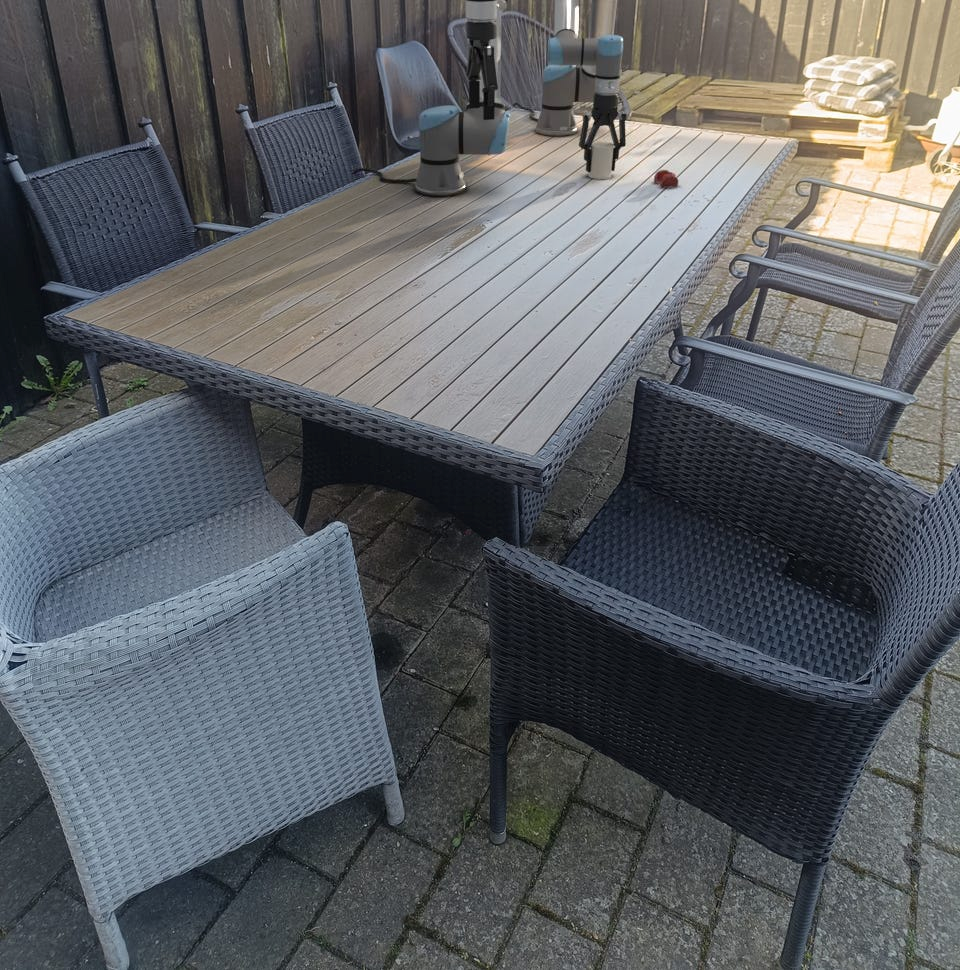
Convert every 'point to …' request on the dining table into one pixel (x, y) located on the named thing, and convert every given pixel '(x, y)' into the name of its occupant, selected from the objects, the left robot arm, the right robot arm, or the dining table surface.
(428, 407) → the dining table surface
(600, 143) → the cylinder
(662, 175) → the red rounded lump
